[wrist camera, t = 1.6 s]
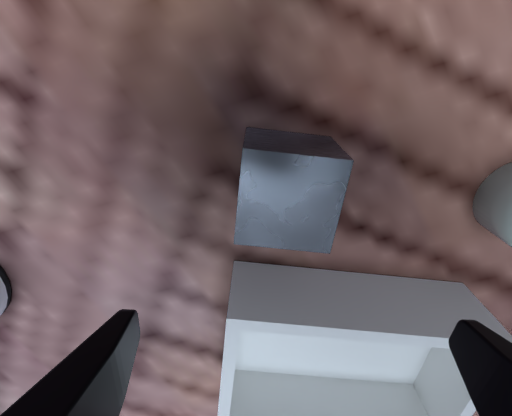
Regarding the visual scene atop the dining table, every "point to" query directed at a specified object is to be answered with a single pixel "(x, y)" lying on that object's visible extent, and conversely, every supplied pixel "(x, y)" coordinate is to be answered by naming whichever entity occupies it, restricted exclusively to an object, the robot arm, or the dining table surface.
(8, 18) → the dining table surface
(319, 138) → the metal block
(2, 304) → the mug
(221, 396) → the tote
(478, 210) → the jar
